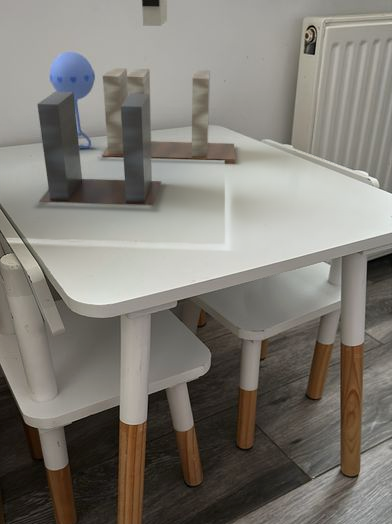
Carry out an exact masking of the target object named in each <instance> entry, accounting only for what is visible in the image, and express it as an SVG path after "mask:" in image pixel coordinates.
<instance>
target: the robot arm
mask: <svg viewBox="0 0 392 524" xmlns="http://www.w3.org/2000/svg"><path fill="white" fill-rule="evenodd" d="M141 5H142V6H154V7H159V6H160V5H159V0H141ZM142 6H141V7H142Z"/></svg>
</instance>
